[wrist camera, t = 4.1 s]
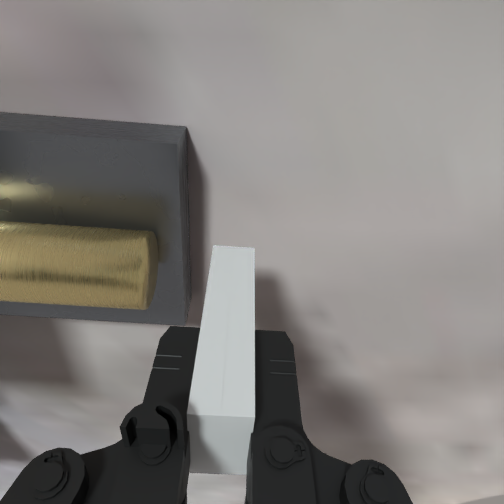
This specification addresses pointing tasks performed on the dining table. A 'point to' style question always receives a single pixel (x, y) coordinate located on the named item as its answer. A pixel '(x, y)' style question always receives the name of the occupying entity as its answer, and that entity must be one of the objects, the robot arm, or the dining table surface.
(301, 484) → the robot arm
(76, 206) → the block
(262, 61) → the dining table surface
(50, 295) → the axle
